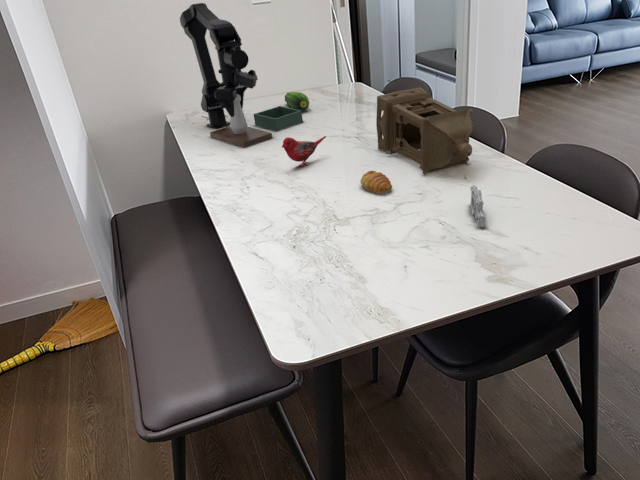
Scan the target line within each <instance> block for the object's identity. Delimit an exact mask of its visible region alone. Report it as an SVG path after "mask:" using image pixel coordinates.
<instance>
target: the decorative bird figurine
mask: <svg viewBox="0 0 640 480" xmlns="http://www.w3.org/2000/svg"><path fill="white" fill-rule="evenodd" d="M326 138H327V135H325V136H322V137H321V138H318V139H317V140H316V141H311V140H310V141H309V140H296V139H295V138H293V137H288V136H287V137H284V139H283V141H282V145H281V149H283V150H284V151H285V152H286V155H287V157H288V158H289V159H290V160H292V161H294V162H301V163H300V164H298V166H297V165H296V166H295V168H302V167H303V166H305V165H306V164H309V162H308V161H307V160H308V159H309V158H310V157H311V156H312V155H313V154H314V153H315V151H316V149H317V147H318V146H319V144H320V143H321V142H323V141H324V140H325V139H326Z"/></svg>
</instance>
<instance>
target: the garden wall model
mask: <svg viewBox="0 0 640 480" xmlns="http://www.w3.org/2000/svg"><path fill="white" fill-rule="evenodd" d="M469 189H470V193H471V194H470V210H471V215H472V216H474V218H475V221H476V225H477V226H478V228H485V225H486V215H485V212H484V209H483V208H484V204H485V203H484V201H483V197H482V195H483V194H482V190H480V189H478V186H477V185H475V184H473V185H472V186H470V187H469Z"/></svg>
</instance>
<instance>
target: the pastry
mask: <svg viewBox="0 0 640 480" xmlns="http://www.w3.org/2000/svg"><path fill="white" fill-rule="evenodd" d="M359 181H360V184H361V186H362V188H364V189H365V190H366V191H367V192H368V191H369V192H370V193H373V194H381V195H383V194H385V193H389V192H391V191H392V188H393V185H392V182H391V180H390V179H389V178H388V177H387V176H386V174H384V173H382V172H381V171H380V172H379V171H376V170H368V171H366V172H365V173H364V174H363V175H362V176H361V178H360V180H359Z"/></svg>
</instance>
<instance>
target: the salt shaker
mask: <svg viewBox="0 0 640 480" xmlns="http://www.w3.org/2000/svg"><path fill="white" fill-rule="evenodd" d="M236 96H237V97H236V98H235V100H234V117H231V116H230V115H229V116H230V122H229V123H230V124H229V126H230V127H231V129H232V131H233V132H234V133H235V134H243V133H245V132H246V129H247V126H248V123H247V122H248V121H247V119H246V117H245V116H246V115H245V113H244V111H243V109H242V107H241V105H240V101H241V97H240V95H239V94H236Z"/></svg>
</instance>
